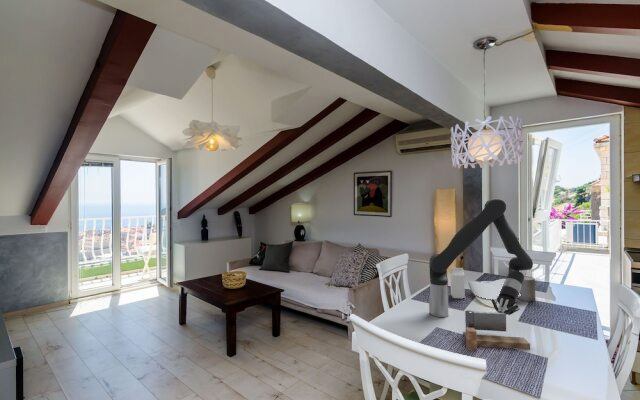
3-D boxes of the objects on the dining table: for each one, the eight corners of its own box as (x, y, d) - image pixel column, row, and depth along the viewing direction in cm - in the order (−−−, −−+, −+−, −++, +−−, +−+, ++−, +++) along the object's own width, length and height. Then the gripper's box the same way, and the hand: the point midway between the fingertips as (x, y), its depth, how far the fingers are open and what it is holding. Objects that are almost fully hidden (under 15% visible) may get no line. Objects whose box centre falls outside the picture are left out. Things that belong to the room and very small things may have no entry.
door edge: (468, 350, 133) (468, 331, 133) (457, 331, 151) (457, 315, 151) (535, 354, 128) (535, 335, 128) (515, 335, 147) (515, 318, 147)
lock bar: (466, 335, 146) (466, 312, 146) (464, 331, 150) (464, 310, 150) (507, 337, 143) (506, 314, 143) (504, 334, 146) (503, 312, 146)
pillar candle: (532, 297, 201) (531, 274, 201) (537, 302, 192) (536, 277, 192) (515, 296, 204) (514, 273, 204) (519, 301, 195) (518, 276, 195)
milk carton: (465, 298, 200) (464, 269, 200) (453, 298, 202) (452, 268, 202) (462, 295, 207) (461, 266, 207) (450, 295, 209) (450, 266, 209)
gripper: (494, 282, 160) (482, 311, 153) (522, 288, 149) (511, 320, 142) (499, 291, 163) (487, 320, 156) (527, 297, 152) (516, 328, 145)
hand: (499, 320), depth 149 cm, fingers closed
